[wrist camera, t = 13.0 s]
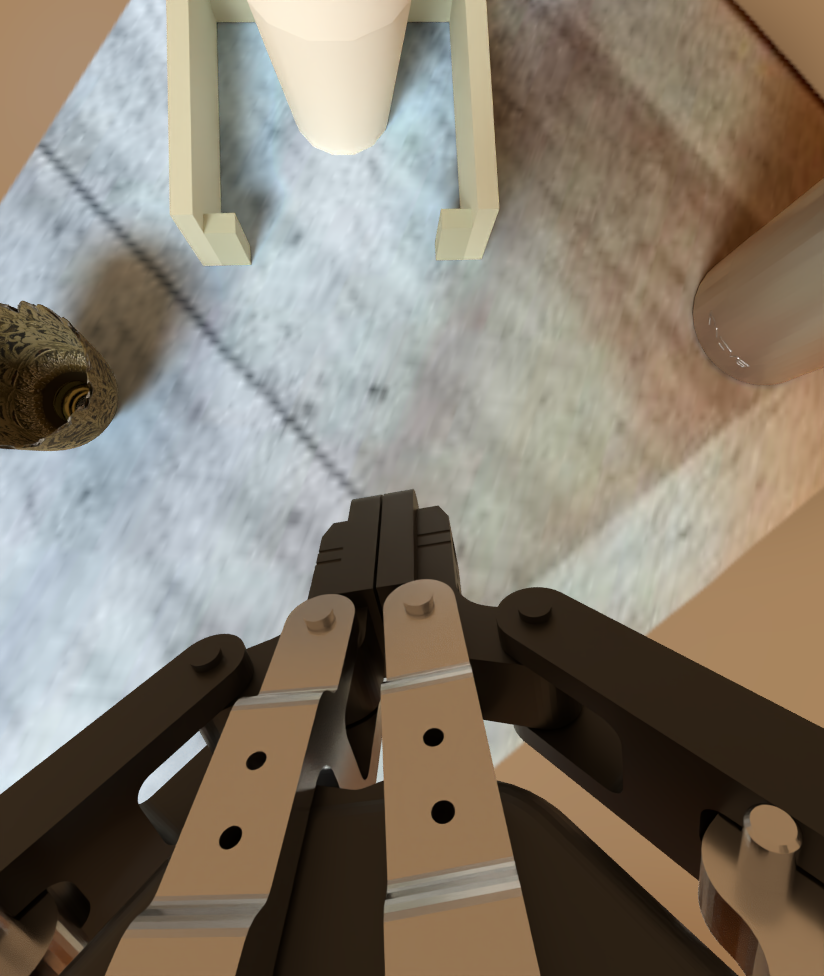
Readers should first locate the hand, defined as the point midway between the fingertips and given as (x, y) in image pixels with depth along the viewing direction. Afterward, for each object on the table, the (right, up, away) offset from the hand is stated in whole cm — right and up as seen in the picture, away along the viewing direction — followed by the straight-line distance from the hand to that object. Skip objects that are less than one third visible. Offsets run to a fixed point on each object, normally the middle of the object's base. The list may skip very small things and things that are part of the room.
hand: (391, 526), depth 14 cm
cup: (-20, +6, +23) cm, 31 cm away
